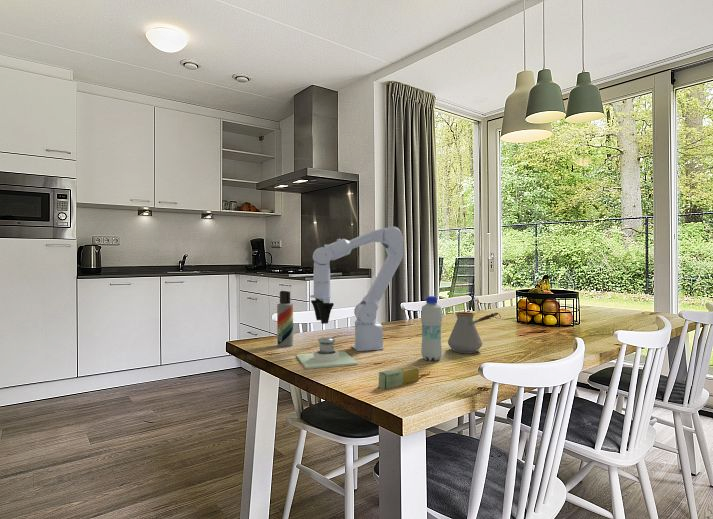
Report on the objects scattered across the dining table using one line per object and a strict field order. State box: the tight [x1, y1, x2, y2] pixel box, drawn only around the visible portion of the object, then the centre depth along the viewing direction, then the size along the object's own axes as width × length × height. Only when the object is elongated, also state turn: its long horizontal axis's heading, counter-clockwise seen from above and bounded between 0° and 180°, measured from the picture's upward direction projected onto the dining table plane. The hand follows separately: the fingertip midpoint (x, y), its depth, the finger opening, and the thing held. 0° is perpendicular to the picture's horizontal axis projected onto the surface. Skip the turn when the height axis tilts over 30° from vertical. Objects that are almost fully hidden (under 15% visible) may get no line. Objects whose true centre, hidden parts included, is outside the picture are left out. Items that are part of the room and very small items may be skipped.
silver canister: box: [317, 336, 336, 354], centre depth 138 cm, size 5×5×6 cm
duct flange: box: [295, 349, 359, 370], centre depth 137 cm, size 16×16×3 cm
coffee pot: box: [447, 311, 501, 354], centre depth 145 cm, size 21×12×15 cm, turn 27°
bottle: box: [420, 295, 443, 362], centre depth 138 cm, size 7×7×20 cm
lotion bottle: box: [276, 290, 294, 348], centre depth 159 cm, size 6×6×20 cm
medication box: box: [377, 365, 420, 390], centre depth 112 cm, size 12×3×4 cm, turn 127°
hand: (322, 321), depth 151 cm, fingers open, 7 cm apart
